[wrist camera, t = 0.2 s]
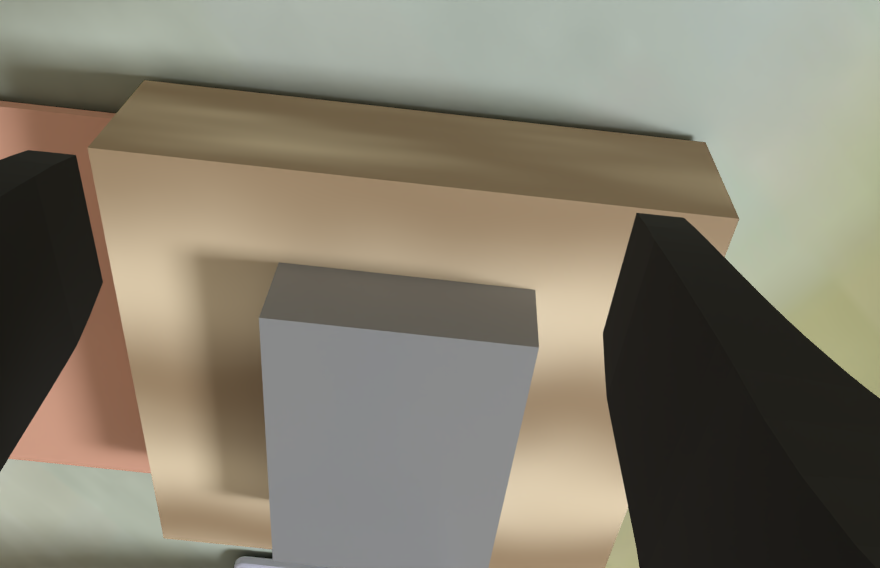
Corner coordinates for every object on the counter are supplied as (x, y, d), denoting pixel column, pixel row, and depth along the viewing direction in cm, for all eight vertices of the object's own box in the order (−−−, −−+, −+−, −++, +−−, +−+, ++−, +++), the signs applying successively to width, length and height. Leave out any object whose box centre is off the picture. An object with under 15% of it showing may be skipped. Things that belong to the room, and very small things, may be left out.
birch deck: (588, 493, 29) (599, 582, 26) (195, 453, 28) (163, 538, 26) (705, 142, 20) (739, 218, 17) (143, 80, 20) (87, 147, 17)
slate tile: (485, 522, 24) (485, 582, 23) (287, 502, 24) (273, 561, 23) (535, 289, 19) (538, 347, 17) (278, 262, 19) (258, 317, 17)
